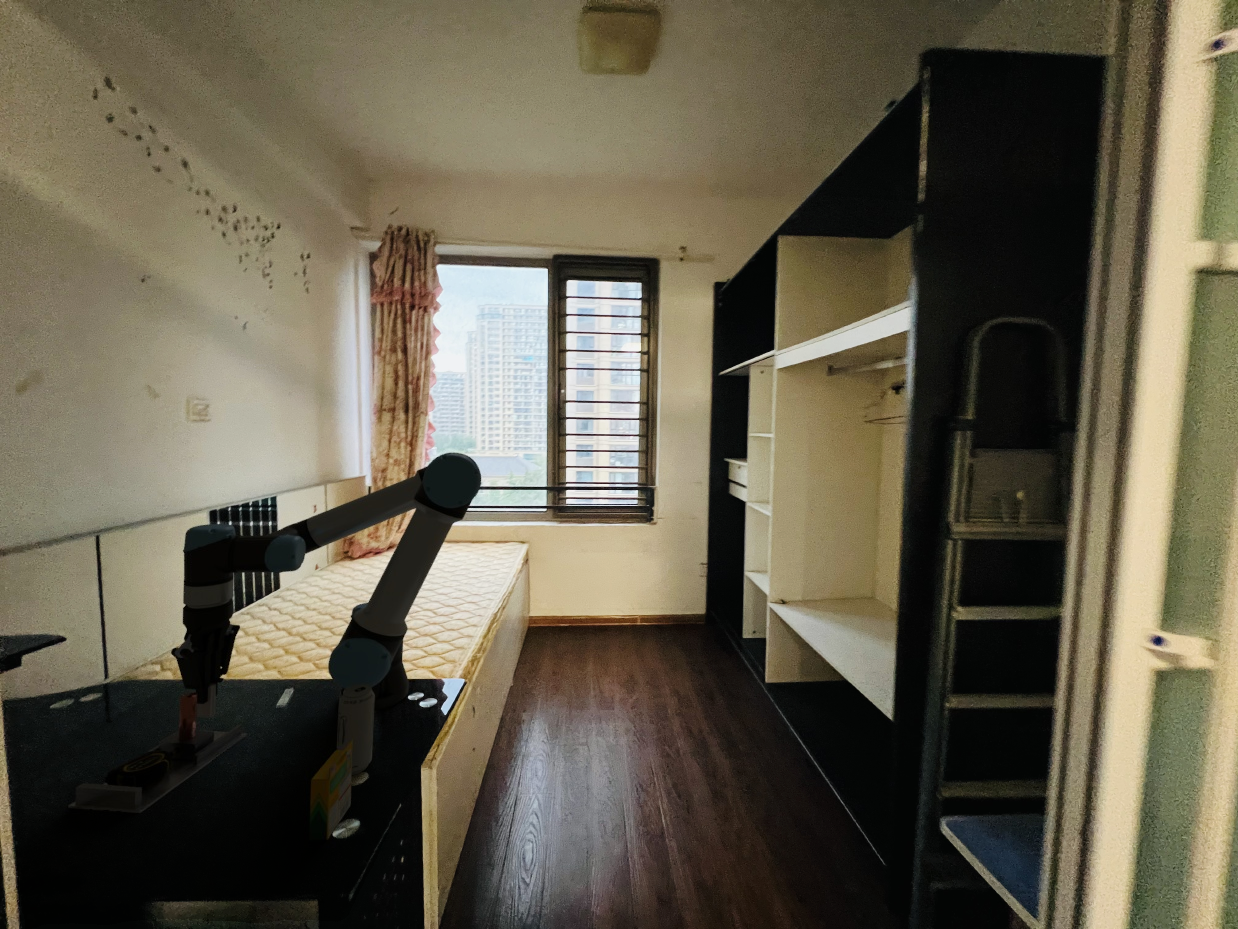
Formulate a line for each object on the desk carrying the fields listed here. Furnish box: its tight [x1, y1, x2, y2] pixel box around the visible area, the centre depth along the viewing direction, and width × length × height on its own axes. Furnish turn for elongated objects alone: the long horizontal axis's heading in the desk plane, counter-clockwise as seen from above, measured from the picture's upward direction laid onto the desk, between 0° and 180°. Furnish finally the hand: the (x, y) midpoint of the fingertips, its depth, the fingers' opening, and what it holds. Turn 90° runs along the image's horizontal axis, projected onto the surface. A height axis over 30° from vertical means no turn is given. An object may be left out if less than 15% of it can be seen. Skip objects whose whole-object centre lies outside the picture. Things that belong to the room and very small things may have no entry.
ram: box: [158, 692, 214, 760], centre depth 88 cm, size 7×5×11 cm
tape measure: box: [104, 751, 171, 787], centre depth 81 cm, size 7×7×4 cm
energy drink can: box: [336, 684, 375, 776], centre depth 88 cm, size 6×6×15 cm
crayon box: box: [308, 740, 353, 841], centre depth 75 cm, size 7×3×12 cm, turn 4°
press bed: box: [68, 720, 248, 814], centre depth 85 cm, size 12×21×3 cm, turn 179°
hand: (206, 715), depth 93 cm, fingers closed
